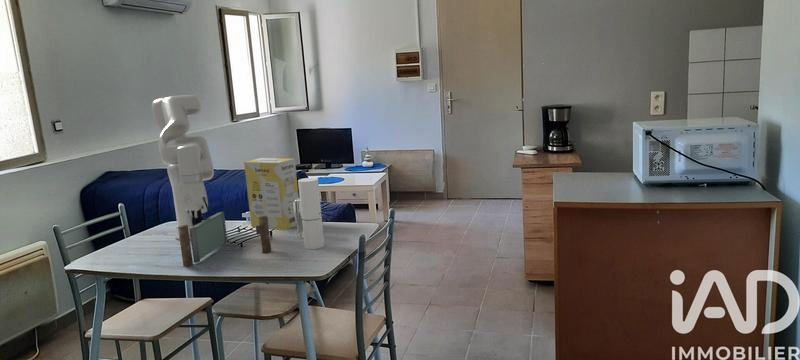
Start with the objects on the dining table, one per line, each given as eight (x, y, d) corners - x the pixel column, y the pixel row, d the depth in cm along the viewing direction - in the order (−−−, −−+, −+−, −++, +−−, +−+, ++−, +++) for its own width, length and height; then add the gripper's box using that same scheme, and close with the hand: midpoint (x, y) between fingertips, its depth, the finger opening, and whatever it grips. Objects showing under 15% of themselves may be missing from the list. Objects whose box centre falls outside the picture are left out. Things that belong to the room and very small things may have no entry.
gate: (198, 262, 199) (193, 228, 197) (192, 262, 200) (188, 228, 197) (227, 242, 222) (224, 211, 219) (223, 242, 222) (219, 211, 220)
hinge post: (183, 267, 198) (177, 227, 195) (183, 264, 200) (177, 225, 198) (193, 265, 199) (187, 226, 196) (192, 262, 202) (187, 224, 199)
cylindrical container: (327, 243, 214) (321, 177, 209) (318, 249, 207) (312, 181, 203) (310, 242, 216) (304, 177, 212) (301, 248, 210) (294, 181, 205)
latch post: (259, 255, 205) (255, 220, 203) (257, 251, 209) (253, 217, 207) (272, 253, 207) (268, 218, 204) (270, 249, 211) (266, 215, 208)
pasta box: (301, 223, 246) (294, 158, 241) (285, 229, 237) (278, 162, 231) (267, 220, 254) (260, 157, 249) (251, 226, 245) (244, 162, 240)
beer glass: (310, 239, 221) (306, 201, 218) (293, 239, 223) (289, 201, 220) (316, 233, 228) (313, 197, 225) (300, 233, 229) (296, 197, 226)
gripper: (168, 180, 210) (175, 228, 213) (198, 181, 203) (204, 231, 206) (185, 176, 217) (191, 223, 220) (213, 177, 210) (220, 226, 213)
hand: (197, 227), depth 213 cm, fingers closed
